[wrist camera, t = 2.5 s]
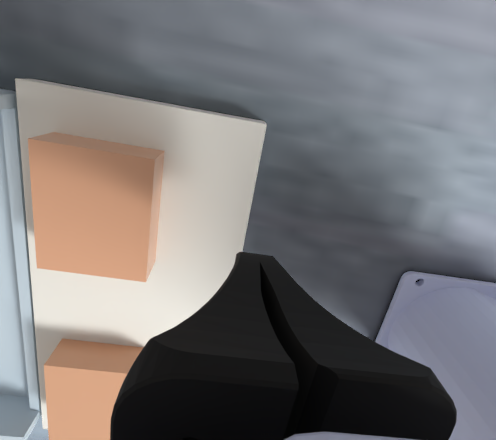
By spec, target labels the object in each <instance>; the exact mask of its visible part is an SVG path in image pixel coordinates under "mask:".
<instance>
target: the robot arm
mask: <svg viewBox="0 0 496 440" xmlns="http://www.w3.org/2000/svg"><path fill="white" fill-rule="evenodd" d="M418 279H420V281H418V282H416V281H417V280H418ZM110 440H496V283H491V282H484V281H477V280H470V279H463V278H456V277H449V276H442V275H435V274H428V273H421V272H414V271H408V272H406V273H404V274H403V275H402V277H401V279H400V282H399V284H398V287H397V289H396V292H395V294H394V296H393V299H392V301H391V304H390V306H389V309H388V311H387V314H386V316H385V318H384V321H383V323H382V326H381V328H380V331H379V333H378V336H377V338H376V340H375V342H374V341H372V340H371V339H369V338H367V337H365V336H364V335H362V334H360V333H359V332H357V331H356V330H354V329H352V328H351V327H349V326H348V325H346V324H345V323H343V322H342V321H340V320H339V319H337V318H336V317H335V316H333V315H332V314H331V313H330V312H328V311H327V310H326V309H324V308H323V307H322V306H321V305H319V304H318V303H317V302H316V301H315V300H314V299H313V298H312V297H310V296H309V295H308V294H307V293H306V292H305V291H304V290H303V289H302V288H301V287H300V286H299V285H298V284H297V283H296V282H295V281H294V280H293V278H292V277H291V276H290V275H289V274H288V273H287V272H286V271H285V270H284V268H283V267H282V266H281V265H280V264H279V263H278V261H277V260H276V259H275V258H274V257H273V256H267V255H260V254H252V253H245V252H239V253H237V254H236V258H235V264H234V266H233V268H232V270H231V272H230V274H229V275H228V277H227V279H226V280H225V281H224V283H223V284H222V286H221V287H220V288H219V290H218V291H217V292H216V293H215V294H214V295H213V297H212V298H211V299H210V300H209V301H208V302H207V303H206V304H205V305H203V306H202V307H201V308H200V309H199V310H198V311H197V312H195V313H194V314H193V315H192V316H190V317H189V318H187V319H186V320H184V321H183V322H181V323H180V324H178V325H177V326H175V327H174V328H171V329H169V330H167V331H165V332H163V333H161V334H159V335H157V336H155V337H152V338H151V339H149V341H148V342H147V343H146V345H145V346H144V348H143V349H142V351H141V352H140V353H139V355H138V357H137V358H136V360H135V361H134V363H133V365H132V366H131V368H130V370H129V372H128V374H127V376H126V377H125V379H124V381H123V384H122V386H121V388H120V391H119V394H118V396H117V399H116V402H115V404H114V407H113V412H112V416H111V426H110Z"/></svg>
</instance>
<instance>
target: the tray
mask: <svg viewBox="0 0 496 440" xmlns="http://www.w3.org/2000/svg"><path fill="white" fill-rule="evenodd" d="M41 415H42V412H41V399H40V386H39V374H38V361H37V349H36V336H35V324H34V311H33V298H32V286H31V273H30V261H29V248H28V235H27V223H26V210H25V198H24V185H23V173H22V160H21V147H20V135H19V122H18V110H17V97H16V91H12V90H6V89H1V88H0V440H27V438H28V436H29V435H30V433H31V431H32V430H33V428H34V426H35V425H36V423H37V421H38V420H39V418H40V416H41Z"/></svg>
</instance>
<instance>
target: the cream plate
mask: <svg viewBox="0 0 496 440" xmlns="http://www.w3.org/2000/svg"><path fill="white" fill-rule="evenodd" d="M15 85H16V97H17V110H18V122H19V135H20V147H21V160H22V173H23V185H24V198H25V210H26V223H27V235H28V248H29V261H30V273H31V286H32V298H33V311H34V324H35V336H36V349H37V361H38V374H39V386H40V399H41V412H42V424H43V429H48V419H47V405H46V391H45V377H44V364H45V363H46V361H47V360H48V358H49V357H50V355H51V354H52V352H53V351H54V350H55V348H56V347H57V345H58V344H59V342H60V341H61V339H62V338H63V339H72V340H81V341H90V342H99V343H108V344H117V345H126V346H135V347H144V346H145V345H146V343H147V342H148V341H149V339H151V338H152V337H155V336H157V335H159V334H161V333H163V332H165V331H167V330H169V329H171V328H174V327H175V326H177V325H178V324H180V323H181V322H183V321H184V320H186V319H187V318H189V317H190V316H192V315H193V314H194V313H195V312H197V311H198V310H199V309H200V308H201V307H202V306H203V305H205V304H206V303H207V302H208V301H209V300H210V299H211V298H212V297H213V295H214V294H215V293H216V292H217V291H218V290H219V288H220V287H221V286H222V284H223V283H224V281H225V280H226V279H227V277H228V275H229V274H230V272H231V270H232V268H233V266H234V264H235V258H236V254H237V253H239V252H242V251H243V246H244V241H245V235H246V230H247V225H248V220H249V215H250V209H251V204H252V199H253V194H254V189H255V184H256V178H257V173H258V168H259V163H260V158H261V152H262V147H263V142H264V137H265V132H266V126H267V124H266V123H265V121H261V120H255V119H250V118H244V117H239V116H233V115H228V114H223V113H217V112H212V111H206V110H201V109H195V108H190V107H184V106H179V105H173V104H168V103H163V102H157V101H152V100H146V99H141V98H135V97H130V96H124V95H119V94H113V93H108V92H103V91H97V90H92V89H86V88H81V87H75V86H70V85H64V84H59V83H53V82H48V81H43V80H37V79H19V78H15ZM51 132H57V133H63V134H69V135H75V136H80V137H86V138H92V139H98V140H104V141H110V142H116V143H122V144H128V145H134V146H140V147H145V148H151V149H157V150H163V151H165V153H164V165H163V177H162V189H161V201H160V213H159V225H158V237H157V249H156V261H155V264H154V266H153V268H152V270H151V272H150V275H149V277H148V279H147V281H146V282H139V281H132V280H124V279H116V278H109V277H101V276H93V275H85V274H78V273H70V272H62V271H54V270H47V269H39V268H37V264H36V250H35V236H34V222H33V207H32V193H31V179H30V165H29V151H28V138H31V137H35V136H39V135H43V134H47V133H51Z"/></svg>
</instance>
